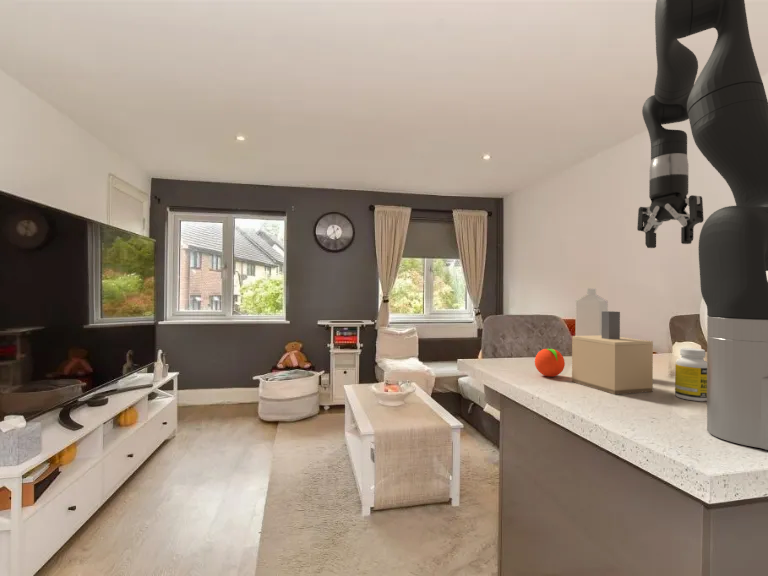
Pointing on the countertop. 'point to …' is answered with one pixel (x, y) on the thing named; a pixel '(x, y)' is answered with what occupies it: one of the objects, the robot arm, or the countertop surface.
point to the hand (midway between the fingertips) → (668, 245)
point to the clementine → (549, 362)
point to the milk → (590, 314)
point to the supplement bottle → (691, 375)
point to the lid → (611, 332)
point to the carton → (613, 366)
